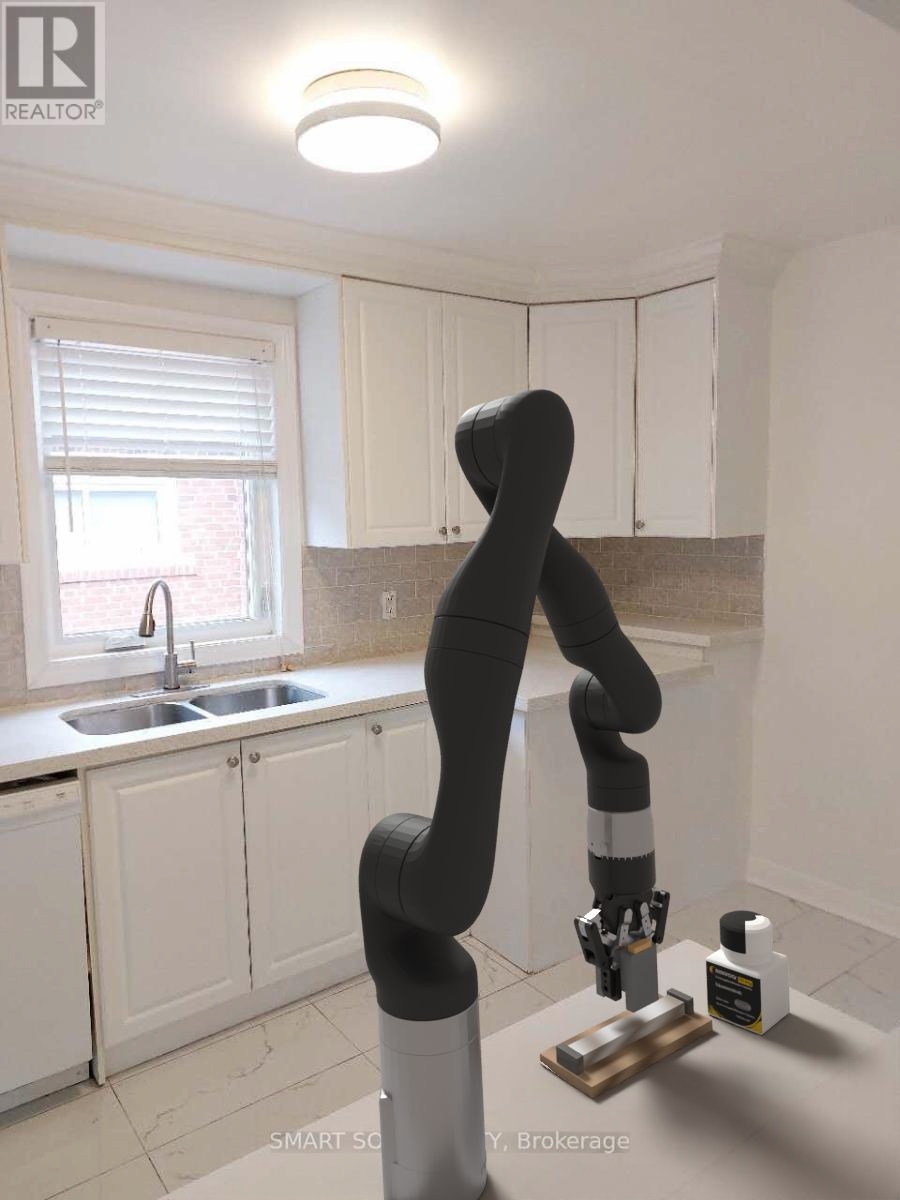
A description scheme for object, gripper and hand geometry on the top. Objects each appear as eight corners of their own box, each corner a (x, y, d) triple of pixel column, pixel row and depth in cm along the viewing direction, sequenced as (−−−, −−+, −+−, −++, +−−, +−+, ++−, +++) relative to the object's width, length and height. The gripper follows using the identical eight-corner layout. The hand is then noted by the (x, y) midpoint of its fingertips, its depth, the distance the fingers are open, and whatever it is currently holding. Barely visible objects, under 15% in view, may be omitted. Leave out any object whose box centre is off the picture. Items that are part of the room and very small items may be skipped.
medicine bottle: (706, 1014, 103) (703, 917, 103) (736, 993, 108) (733, 900, 107) (761, 1036, 98) (758, 934, 97) (791, 1013, 103) (787, 915, 102)
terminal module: (633, 1013, 94) (630, 950, 93) (596, 993, 98) (593, 934, 98) (658, 1000, 96) (656, 939, 96) (621, 981, 101) (619, 923, 100)
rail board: (592, 1098, 88) (590, 1070, 88) (540, 1064, 95) (539, 1037, 94) (712, 1029, 100) (711, 1004, 100) (659, 1003, 106) (658, 979, 106)
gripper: (637, 822, 104) (643, 959, 104) (551, 850, 95) (558, 999, 96) (687, 836, 97) (693, 982, 98) (600, 867, 89) (607, 1026, 90)
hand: (626, 990), depth 97 cm, fingers closed on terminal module, 4 cm apart
